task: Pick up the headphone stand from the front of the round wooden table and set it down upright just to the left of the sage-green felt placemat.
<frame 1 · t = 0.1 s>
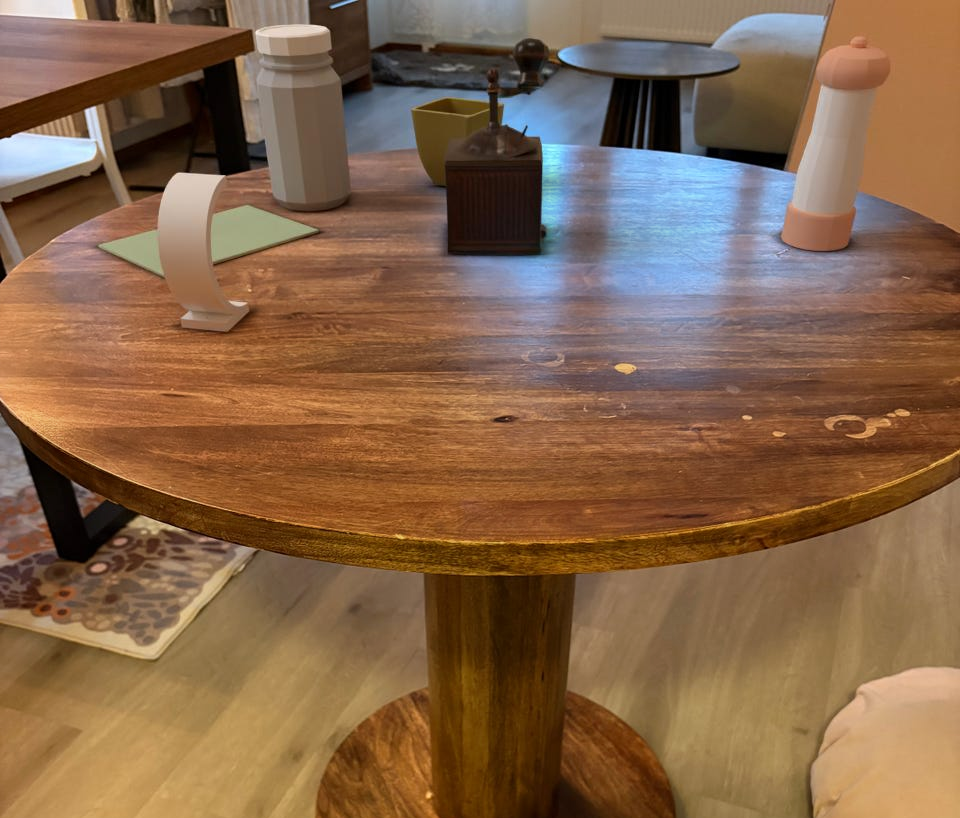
headphone stand: (214, 323, 86), on the table
placemat: (210, 239, 103), on the table
salt shaker: (813, 242, 102), on the table
brown manual coffee grinder: (497, 233, 105), on the table
flower pot: (459, 185, 120), on the table
jar: (313, 203, 114), on the table
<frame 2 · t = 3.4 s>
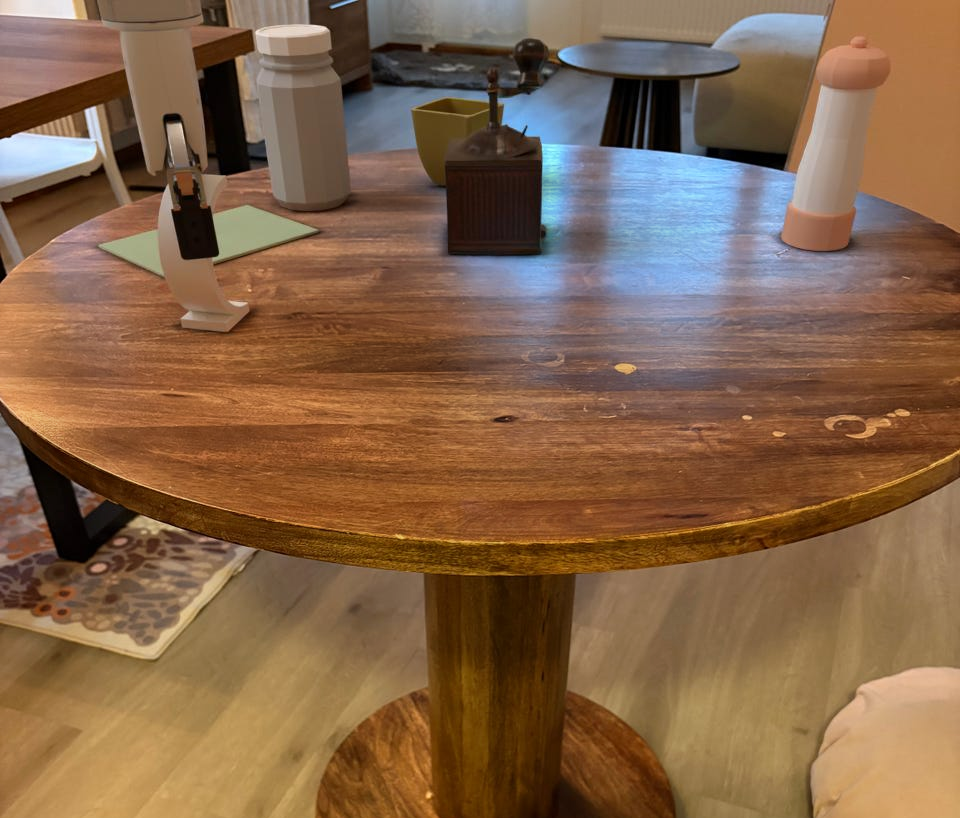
hand: (198, 241, 81), 7 cm above the table, tool pointing down, fingers closed on headphone stand, 7 cm apart
headphone stand: (214, 323, 86), on the table, touching gripper
everything else where it was.
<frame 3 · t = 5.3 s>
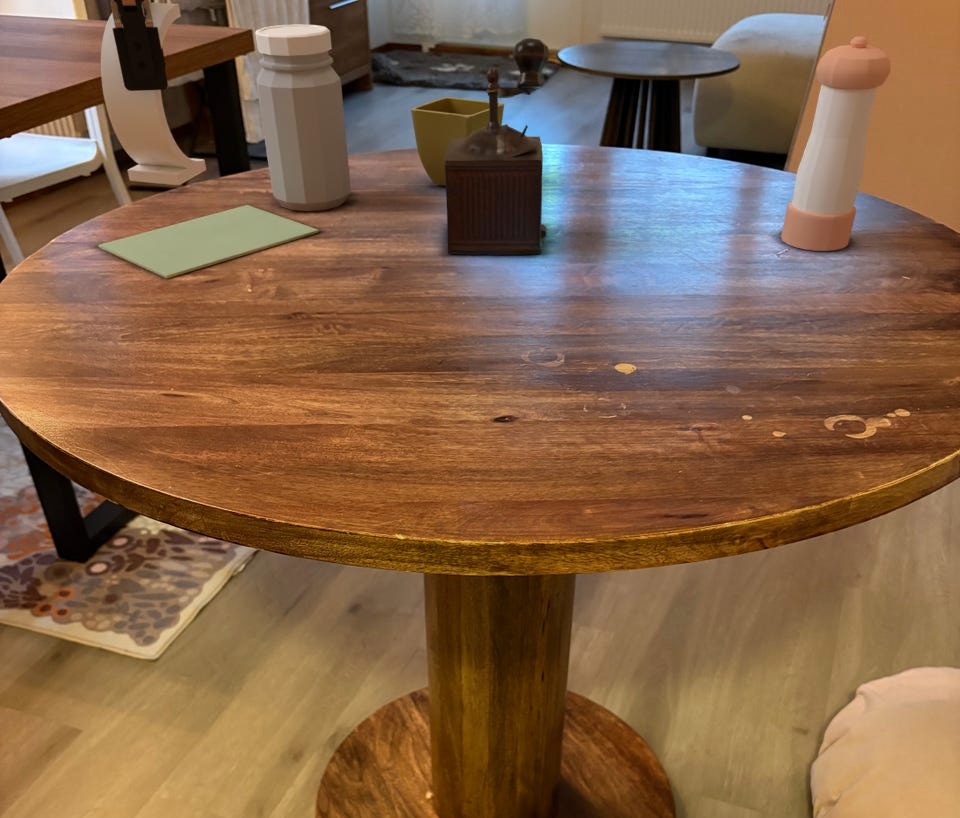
hand: (146, 77, 73), 20 cm above the table, tool pointing down, fingers closed on headphone stand, 7 cm apart
headphone stand: (166, 179, 78), point 12 cm above the table, touching gripper
everything else where it was.
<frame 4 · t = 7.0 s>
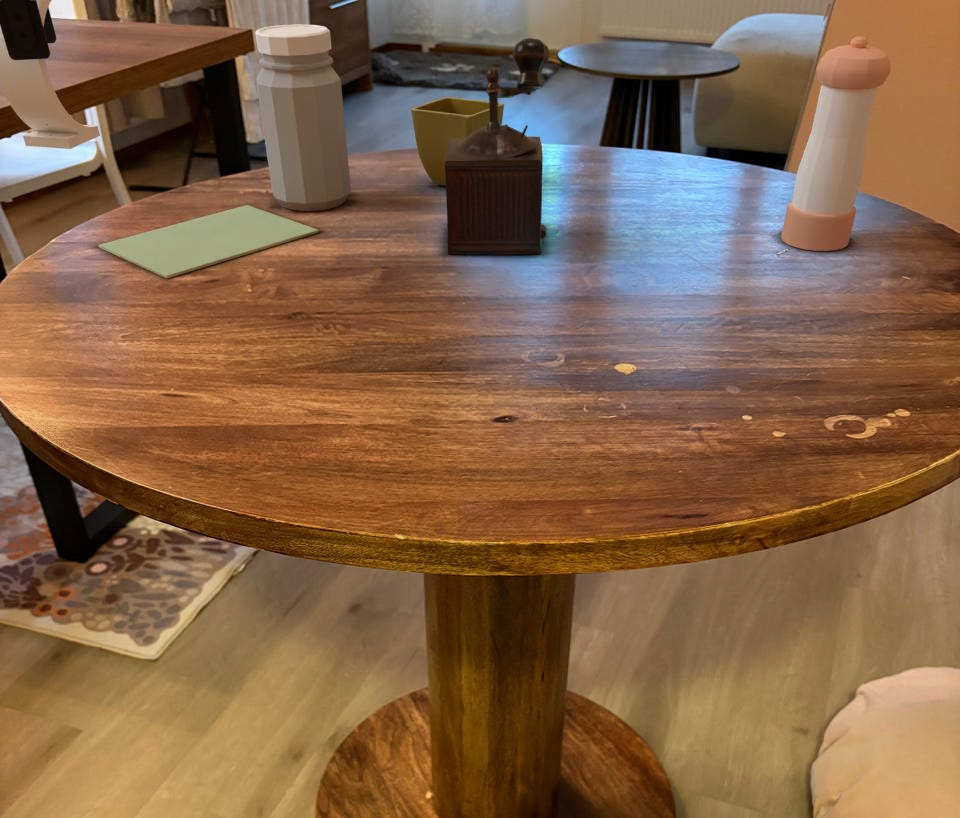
hand: (34, 49, 79), 20 cm above the table, tool pointing down, fingers closed on headphone stand, 7 cm apart
headphone stand: (61, 144, 84), point 13 cm above the table, touching gripper
everything else where it was.
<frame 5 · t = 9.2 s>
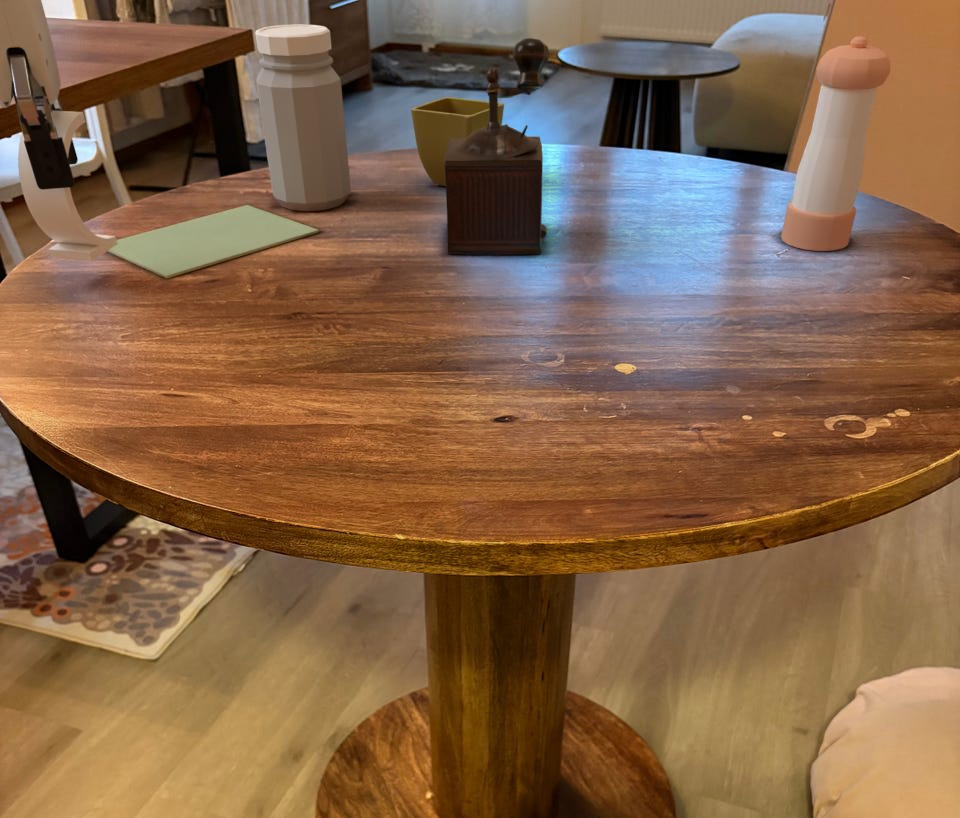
hand: (59, 174, 87), 10 cm above the table, tool pointing down, fingers closed on headphone stand, 7 cm apart
headphone stand: (82, 254, 92), point 3 cm above the table, touching gripper
everything else where it was.
when the fingers open (7 cm above the table, at t = 10.6 s): headphone stand stays where it is, on the table.
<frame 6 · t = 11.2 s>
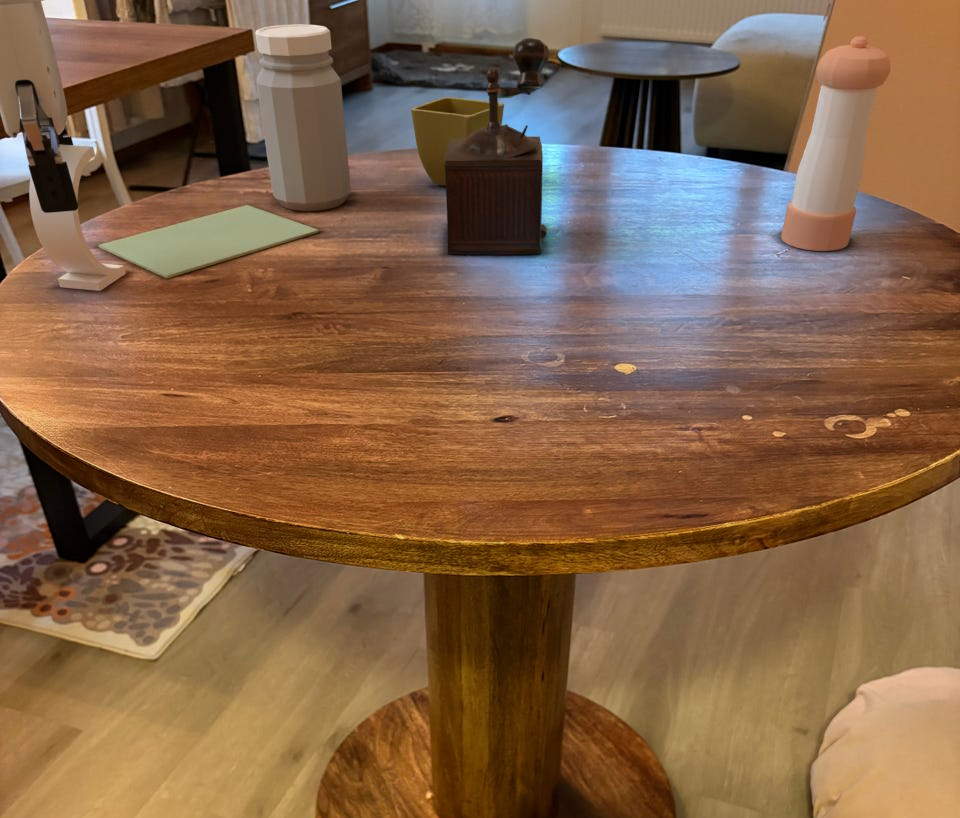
hand: (63, 196, 88), 8 cm above the table, tool pointing down, fingers open, 9 cm apart
headphone stand: (91, 283, 94), on the table
everything else where it was.
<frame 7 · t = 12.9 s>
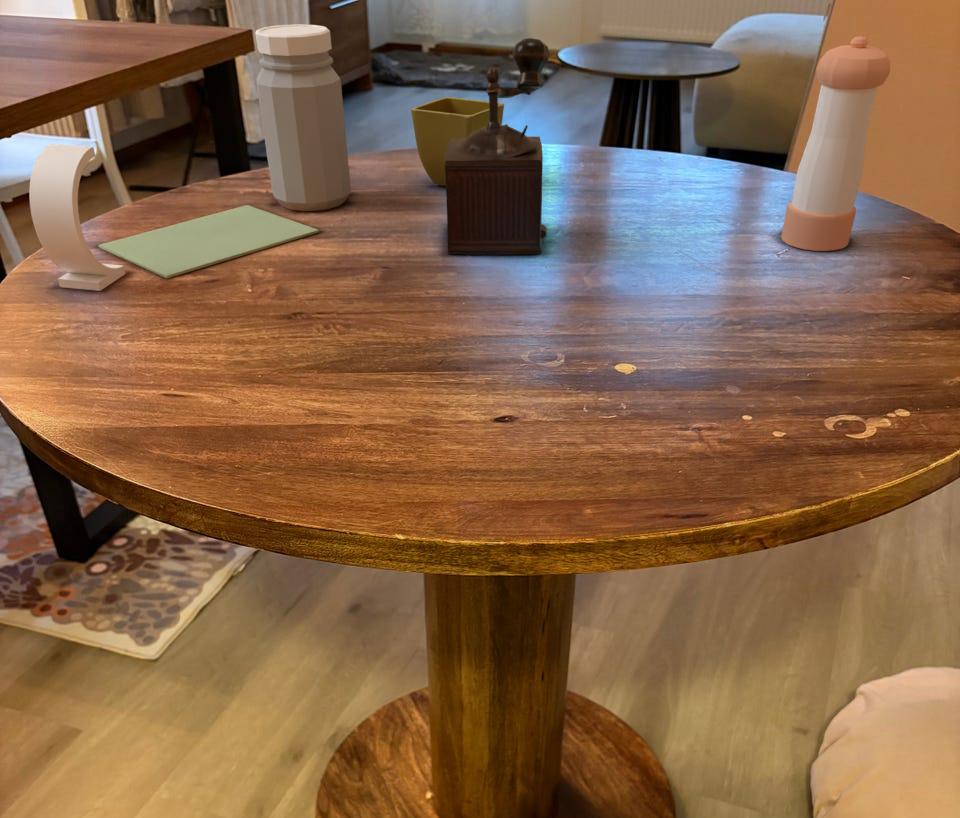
nothing on the table moved.
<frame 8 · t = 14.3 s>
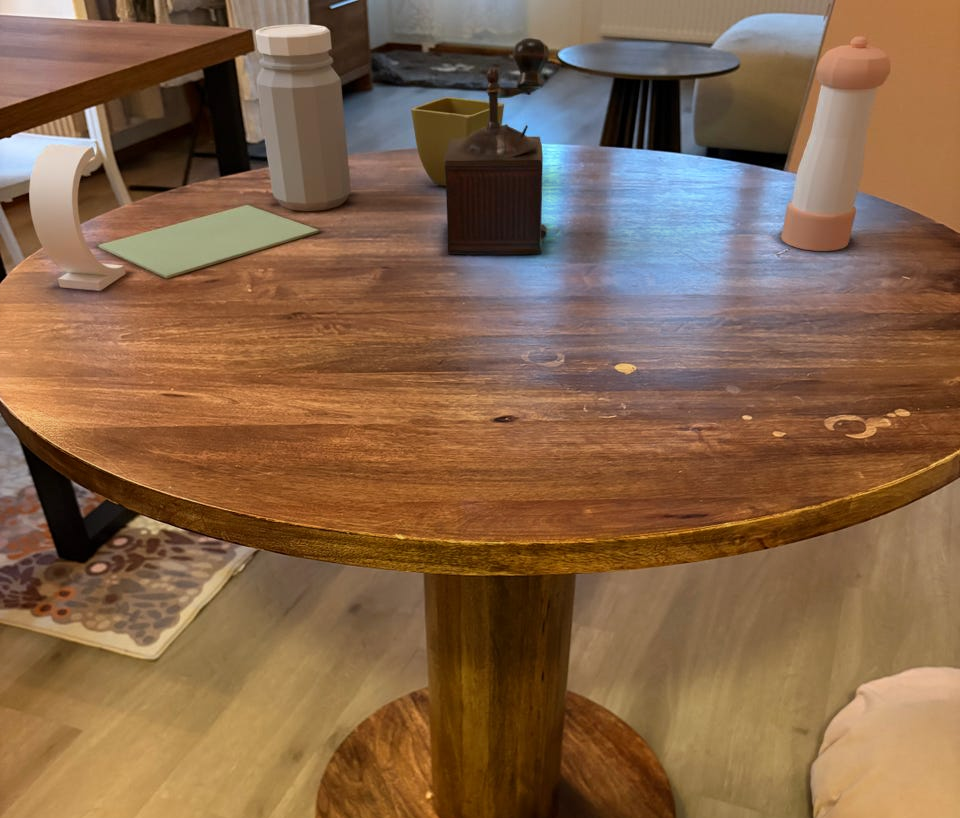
nothing on the table moved.
at the end: headphone stand inside the target area on the table beside the placemat (2.1 cm from its centre), on the table; headphone stand tilted 0°; the gripper is holding nothing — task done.
